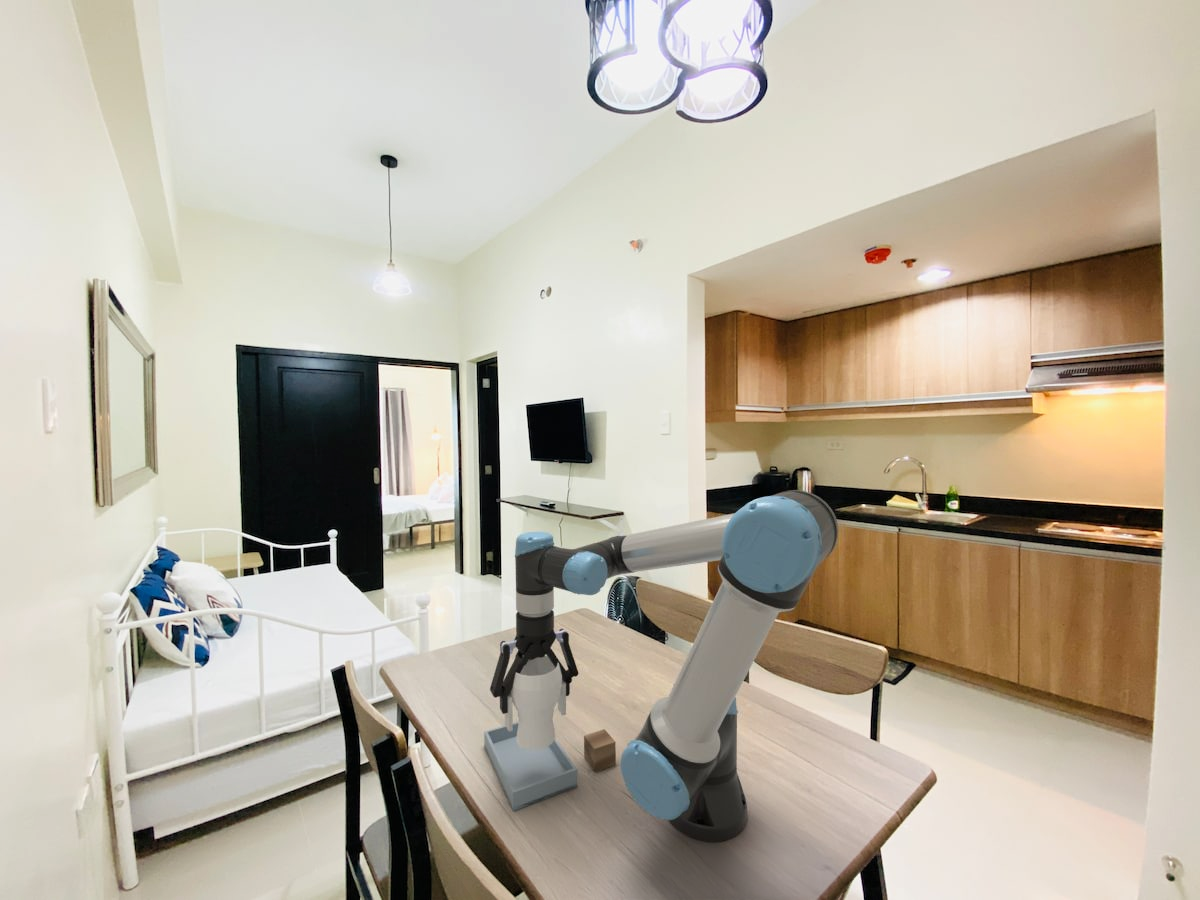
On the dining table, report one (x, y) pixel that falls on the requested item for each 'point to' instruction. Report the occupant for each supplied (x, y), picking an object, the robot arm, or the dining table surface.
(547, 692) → the cup
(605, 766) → the walnut cube
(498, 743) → the tray
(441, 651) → the dining table surface
